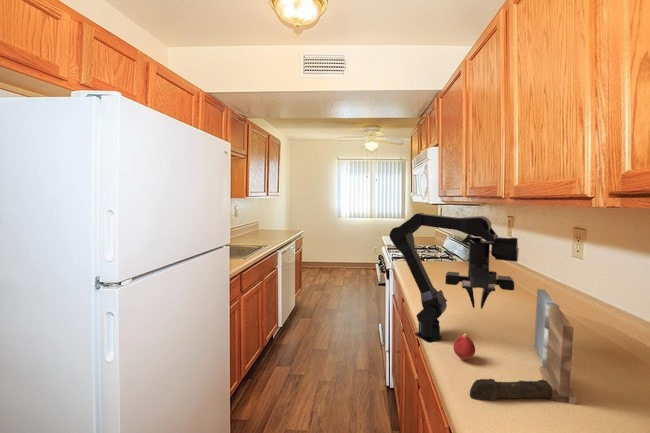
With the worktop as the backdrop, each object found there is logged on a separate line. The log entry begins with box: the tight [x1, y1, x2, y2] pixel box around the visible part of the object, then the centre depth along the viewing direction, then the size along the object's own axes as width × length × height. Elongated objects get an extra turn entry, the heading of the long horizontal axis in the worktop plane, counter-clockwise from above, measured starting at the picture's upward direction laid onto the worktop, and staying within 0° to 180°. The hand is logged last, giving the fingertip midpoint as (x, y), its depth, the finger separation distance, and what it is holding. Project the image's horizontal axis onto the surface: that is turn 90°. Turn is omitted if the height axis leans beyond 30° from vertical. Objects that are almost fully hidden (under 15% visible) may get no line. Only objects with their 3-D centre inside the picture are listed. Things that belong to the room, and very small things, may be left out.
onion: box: [453, 333, 476, 361], centre depth 96 cm, size 6×6×8 cm
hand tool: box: [469, 378, 553, 402], centre depth 80 cm, size 19×4×5 cm, turn 89°
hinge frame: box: [539, 303, 578, 406], centre depth 84 cm, size 5×16×18 cm, turn 157°
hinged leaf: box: [533, 288, 556, 363], centre depth 97 cm, size 3×16×18 cm, turn 157°
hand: (477, 307), depth 102 cm, fingers closed
